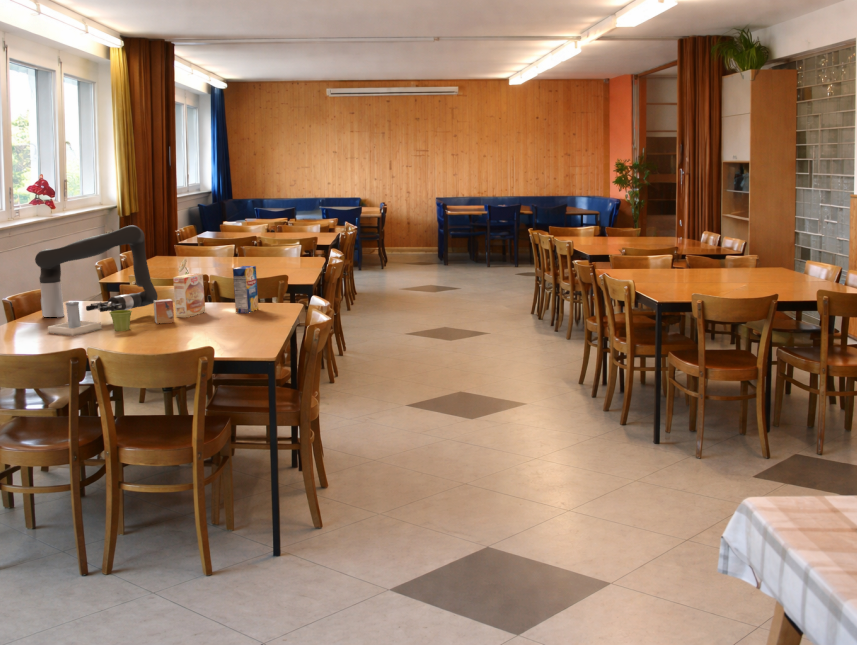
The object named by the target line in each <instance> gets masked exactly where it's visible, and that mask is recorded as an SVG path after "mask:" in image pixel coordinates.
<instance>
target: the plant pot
mask: <svg viewBox="0 0 857 645" xmlns="http://www.w3.org/2000/svg"><path fill="white" fill-rule="evenodd" d="M108 312H109V314H110V317H111V319H112V324H113V329H114V331H115V332H126V331H129V330H130V326H131V316H132V312H133V311H132V309H129V310H117V311H108Z"/></svg>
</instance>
